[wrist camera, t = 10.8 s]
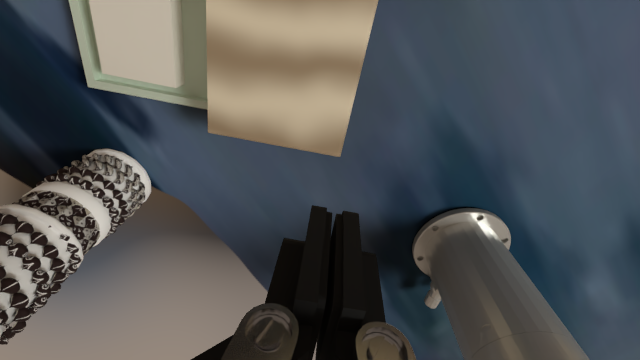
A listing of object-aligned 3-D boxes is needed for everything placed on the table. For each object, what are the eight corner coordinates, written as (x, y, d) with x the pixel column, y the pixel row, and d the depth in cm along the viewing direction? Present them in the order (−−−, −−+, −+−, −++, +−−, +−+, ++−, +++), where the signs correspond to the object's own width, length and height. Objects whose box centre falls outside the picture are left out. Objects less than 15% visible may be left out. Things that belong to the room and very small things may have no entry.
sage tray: (220, 106, 31) (215, 111, 30) (98, 83, 31) (87, 86, 29) (221, -25, 25) (215, -28, 24) (70, -58, 25) (54, -63, 23)
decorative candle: (168, 199, 38) (-50, 444, 16) (111, 214, 40) (-156, 454, 18) (126, 136, 34) (-247, 356, 12) (64, 157, 35) (-361, 381, 14)
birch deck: (339, 138, 33) (339, 156, 28) (225, 116, 32) (208, 132, 28) (372, -6, 26) (380, -10, 21) (227, -38, 25) (205, -49, 21)
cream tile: (102, 73, 27) (115, 69, 29) (175, 88, 28) (185, 83, 30) (83, -27, 23) (100, -25, 25) (169, -8, 24) (180, -7, 26)
